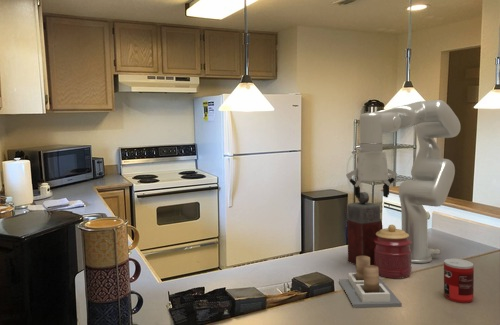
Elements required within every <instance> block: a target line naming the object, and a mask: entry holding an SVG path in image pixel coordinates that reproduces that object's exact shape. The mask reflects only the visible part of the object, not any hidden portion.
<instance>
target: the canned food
mask: <svg viewBox="0 0 500 325" xmlns="http://www.w3.org/2000/svg"><path fill="white" fill-rule="evenodd" d="M474 268H475V267H474V263H473V262H471V261H469V260H466V259H463V258H461V259H460V258H446V259H444V261H443V295H444V297H445V298H446V299H447V300H449V301H452V302H455V303H460V304H461V303H462V304H467V303H468V304H469V303H471V302H472V301H473V300H474V293H475V292H474V288H475V287H474V285H475V284H474V282H475V279H474V274H475V273H474V270H475V269H474Z"/></svg>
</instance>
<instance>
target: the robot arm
mask: <svg viewBox="0 0 500 325" xmlns="http://www.w3.org/2000/svg"><path fill="white" fill-rule="evenodd" d="M413 126H415V133H416V137H417V140H418V141H417V142H418V144H419V145H418V146H419V148H418V153H417V155H416V157H415V159H414V162H413V164H412V167H411V170H410V176H411V177H412V179H407V180H403V181H402V182H401V183H400V184H399V187H398V197H399V202H400V209H401V212H400V213H401V214H400V215H401V230H403V231H405V232H406V233H407V234H409V237H408V239H409V240H411V242H412V243H411V244H410V249H411V251H412V252H411V264H412V263H413V264H425V263H429V262H432V260H433V257H432V255H441V250H440V249H439V248H438V249H435V248H432V247H431V248H430V247H428V213H427V212H426V209H425V207H424V206H426V207H427V206H428V207H436V208H437V207H441V206H443V205H444V204H445V202H446V200H447V197H448V195H449V192H450V189H451V187H452V185H453V182H454V178H455V173H456V168H455V164H454V163H453V161H452V160H450V159H448V158H443V157H442V158H441V155H442V149H441V147H440V145H439V144H438V143H437V142H436V141H435V139H450V138H454V137H457V136H458V135H459V133H460V132H461V123H460V120H459V117H458V116H457V115H456V114H455V112H454V111H453V109H452V108H451V107H450V105H449V104H448V103H446V102H445V101H444V100H441V99H433V100H423V101H422V100H421V101H417V102H412V103H409V104H404V105H400V106H395V107H391V108H386V109H382V110H376V111H372V112H365V113H362V114H360V115H359V144H358V145H355V150H358V151H359V152H357V157H356V164H355V166H356V167H355V169H353V170H352V171H350V172H348V173H346V178H347V179H348V181H349V182H350V184H352V186H353V189H354V190H353V191H354V196H355V198H357V199H358V198H360V192H361V188H360V185H361V183H362V182H364V183H365V182H382V183H383V185H382V196H383V197H384V198H389V195H390V186H391V185H392V183H393V182H394V181H395V179H396V177H397V175H398V173H397V172H395V171H393V169H392V170H391V169H389V168H388V161H387V155H386V152H385V151H383V135H384V134H395V133H396V132H398V131H399V129H407V128H410V127H413ZM389 174H390V177H389ZM354 175H355V177H356V179H355V180H354V179H353V176H354ZM388 177H389V178H388Z"/></svg>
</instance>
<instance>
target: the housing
mask: <svg viewBox="0 0 500 325" xmlns="http://www.w3.org/2000/svg"><path fill="white" fill-rule="evenodd" d="M347 273H348V274H347V275H348V279H347V278H346V279H345V278H341V279H340V278H339V279H338V282H339V285H340V286H341V288H342V290H343V291H344V290H345V292H346V294H347V295H348V297H349V299H350V301H351V302H350V301H349V302H350V304H351V303H352V304H351V305H353V306H352V307H361V308H391V307H394V308H395V307H397V308H398V307H400V308H401V307H402V302H401V301H400V300H399V298H398V297H397V296H396V295H395V294H394V292H392V291H391V289H390V288H389V287H388V286H387V285H386V283H385V282H384V281H383V280H382V279H381V278H380V277H379V293H365V292H364V280H358V281H357V280H356V272H347ZM345 292H344V293H345ZM346 294H345V295H346ZM347 295H346V296H347ZM348 297H347V298H348ZM349 299H348V300H349Z"/></svg>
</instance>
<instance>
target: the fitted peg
mask: <svg viewBox="0 0 500 325" xmlns="http://www.w3.org/2000/svg"><path fill="white" fill-rule="evenodd" d="M366 265H370V257H368V256H357V257H356V265H355V267H356V268H355V270H356V272H355V273H356V280H357V281H358V280H364V272H363V267H364V266H366Z"/></svg>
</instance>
